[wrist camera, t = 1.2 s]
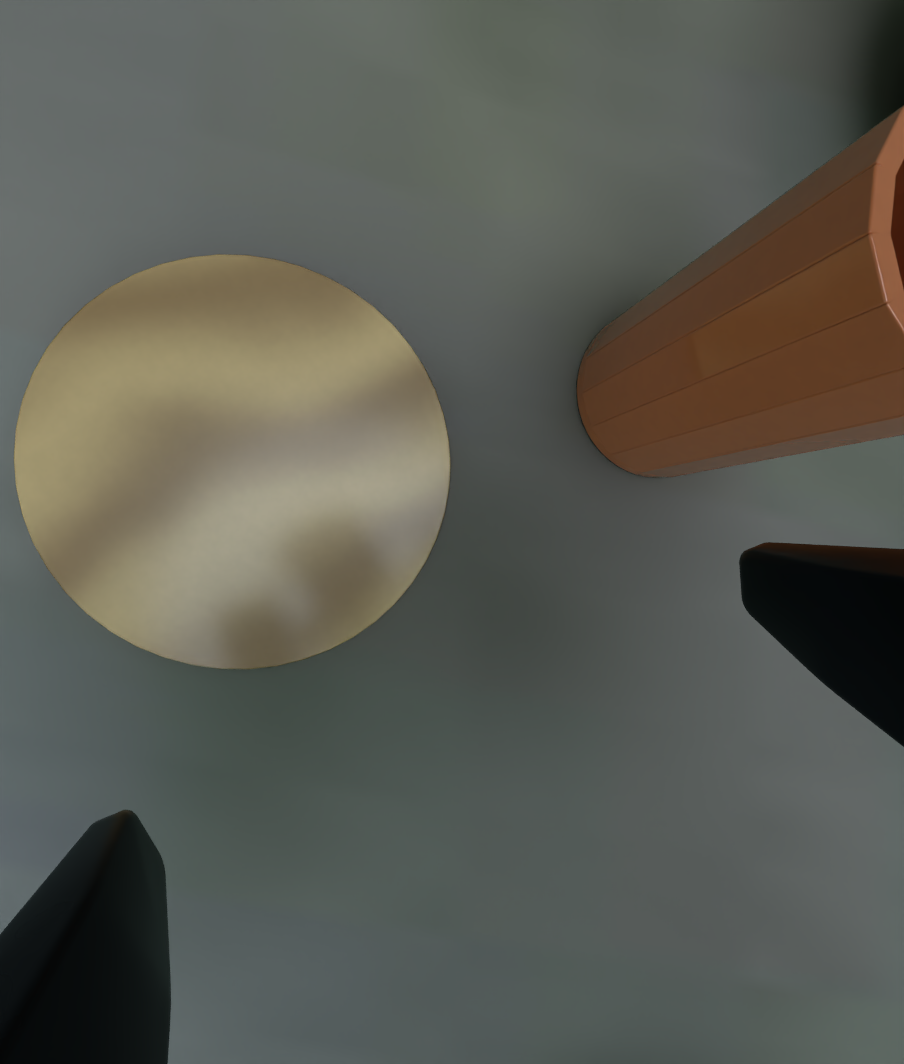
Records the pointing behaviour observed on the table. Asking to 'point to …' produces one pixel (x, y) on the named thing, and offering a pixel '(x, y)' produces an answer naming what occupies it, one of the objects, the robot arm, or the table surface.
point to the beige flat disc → (232, 461)
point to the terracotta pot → (766, 331)
